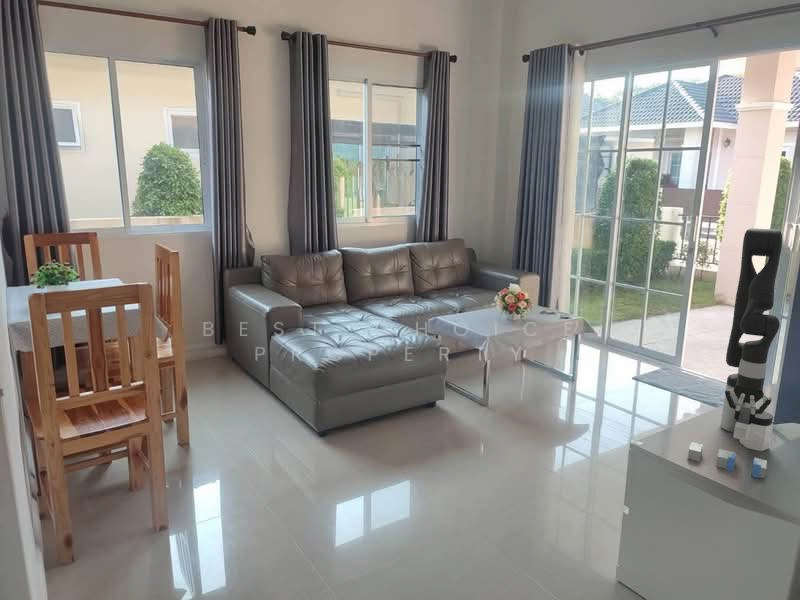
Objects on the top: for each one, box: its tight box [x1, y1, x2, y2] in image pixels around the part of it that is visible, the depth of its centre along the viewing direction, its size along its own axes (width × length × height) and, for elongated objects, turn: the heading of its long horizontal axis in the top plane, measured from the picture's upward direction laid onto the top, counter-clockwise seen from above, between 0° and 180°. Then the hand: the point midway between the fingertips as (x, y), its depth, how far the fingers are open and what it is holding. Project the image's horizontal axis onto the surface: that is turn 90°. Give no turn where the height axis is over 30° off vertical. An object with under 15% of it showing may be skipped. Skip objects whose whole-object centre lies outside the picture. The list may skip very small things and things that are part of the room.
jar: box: [739, 410, 774, 452], centre depth 200 cm, size 9×8×12 cm
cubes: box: [687, 441, 768, 479], centre depth 188 cm, size 7×22×4 cm, turn 56°
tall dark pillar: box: [732, 407, 751, 440], centre depth 188 cm, size 15×3×4 cm, turn 144°
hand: (743, 421), depth 190 cm, fingers closed on tall dark pillar, 3 cm apart
